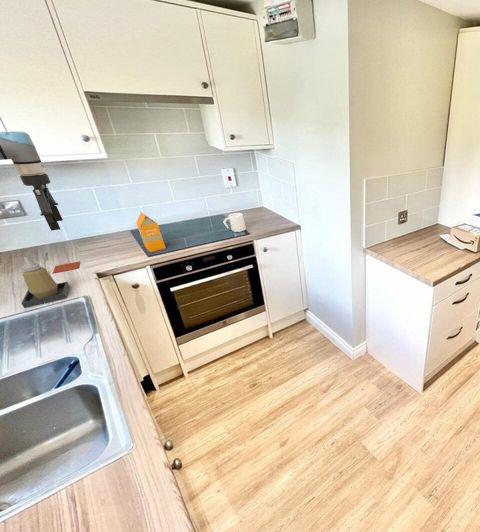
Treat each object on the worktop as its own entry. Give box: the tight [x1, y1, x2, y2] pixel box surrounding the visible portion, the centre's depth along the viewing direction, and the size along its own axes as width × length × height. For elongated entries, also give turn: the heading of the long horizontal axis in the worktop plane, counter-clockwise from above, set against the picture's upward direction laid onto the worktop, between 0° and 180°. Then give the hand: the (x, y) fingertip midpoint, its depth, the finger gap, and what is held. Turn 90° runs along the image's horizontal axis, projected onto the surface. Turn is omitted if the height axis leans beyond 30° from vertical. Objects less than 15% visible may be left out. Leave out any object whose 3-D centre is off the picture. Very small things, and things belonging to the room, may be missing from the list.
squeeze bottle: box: [21, 255, 58, 299], centre depth 130 cm, size 8×8×18 cm
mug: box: [222, 212, 247, 233], centre depth 204 cm, size 12×9×10 cm
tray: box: [21, 281, 71, 309], centre depth 134 cm, size 12×12×2 cm
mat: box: [52, 261, 81, 274], centre depth 157 cm, size 9×9×1 cm
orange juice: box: [135, 211, 166, 253], centre depth 175 cm, size 8×9×20 cm
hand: (57, 225), depth 136 cm, fingers open, 13 cm apart
